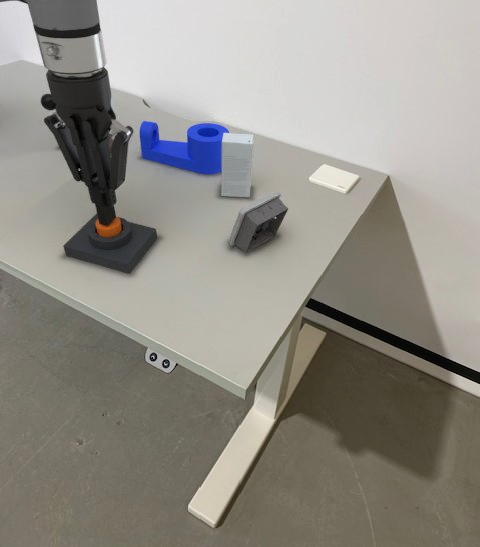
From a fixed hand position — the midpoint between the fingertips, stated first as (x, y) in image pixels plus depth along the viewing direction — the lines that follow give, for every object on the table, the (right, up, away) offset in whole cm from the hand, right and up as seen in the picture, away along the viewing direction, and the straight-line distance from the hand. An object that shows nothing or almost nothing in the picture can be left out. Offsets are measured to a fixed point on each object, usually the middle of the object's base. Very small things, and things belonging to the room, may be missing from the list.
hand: (107, 220), depth 69 cm
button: (0, -1, +2) cm, 2 cm away
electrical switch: (+25, -3, +7) cm, 26 cm away
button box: (0, -4, +4) cm, 6 cm away
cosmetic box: (+21, +8, +19) cm, 29 cm away
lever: (-17, +30, +25) cm, 42 cm away
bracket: (+9, +17, +27) cm, 34 cm away
